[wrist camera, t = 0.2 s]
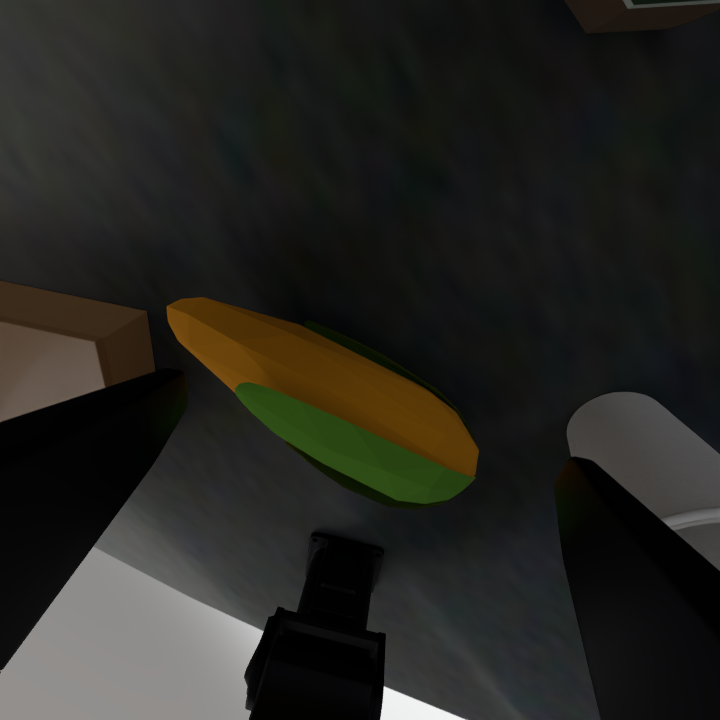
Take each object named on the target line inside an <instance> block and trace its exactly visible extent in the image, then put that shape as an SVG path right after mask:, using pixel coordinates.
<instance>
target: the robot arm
mask: <svg viewBox="0 0 720 720" xmlns="http://www.w3.org/2000/svg"><path fill="white" fill-rule="evenodd" d="M187 404H188V392H187V381H186V375H185V373H184V372H183V371H181V370H176V369H172V368H164V369H161V370H158V371H154V372H151V373H148V374H145V375H142V376H139V377H136V378H133V379H130V380H127V381H124V382H121V383H118V384H115V385H112V386H109V387H106V388H103V389H99V390H96V391H93V392H90V393H87V394H84V395H81V396H78V397H75V398H72V399H69V400H66V401H63V402H60V403H57V404H54V405H51V406H48V407H44V408H41V409H38V410H35V411H32V412H29V413H26V414H23V415H20V416H17V417H14V418H11V419H8V420H5V421H2V422H0V670H2V669H3V668H4V667H5V666H6V664H7V663H8V662H9V660H10V659H11V657H12V656H13V655H14V653H15V652H16V651H17V649H18V648H19V647H20V645H21V644H22V643H23V641H24V640H25V639H26V637H27V636H28V634H29V633H30V632H31V630H32V629H33V628H34V626H35V625H36V623H37V622H38V621H39V619H40V618H41V617H42V615H43V614H44V613H45V611H46V610H47V609H48V607H49V606H50V604H51V603H52V602H53V600H54V599H55V598H56V596H57V595H58V594H59V592H60V591H61V589H62V588H63V587H64V585H65V584H66V583H67V581H68V580H69V579H70V577H71V576H72V574H73V573H74V572H75V570H76V569H77V568H78V566H79V565H80V563H81V562H82V561H83V559H84V558H85V557H86V555H87V554H88V553H89V551H90V550H91V549H92V547H93V546H94V545H95V543H96V542H97V540H98V539H99V538H100V536H101V535H102V534H103V532H104V531H105V530H106V528H107V527H108V525H109V524H110V523H111V521H112V520H113V519H114V517H115V516H116V515H117V513H118V512H119V510H120V509H121V508H122V506H123V505H124V504H125V502H126V501H127V500H128V498H129V497H130V495H131V494H132V493H133V491H134V490H135V489H136V487H137V486H138V485H139V483H140V482H141V480H142V479H143V478H144V476H145V475H146V474H147V472H148V471H149V470H150V468H151V467H152V465H153V464H154V462H155V461H156V459H157V458H158V456H159V454H160V453H161V451H162V449H163V448H164V446H165V444H166V442H167V441H168V439H169V437H170V435H171V434H172V432H173V430H174V429H175V427H176V425H177V423H178V422H179V420H180V418H181V416H182V415H183V413H184V411H185V409H186V407H187ZM554 491H555V500H556V509H557V517H558V525H559V533H560V542H561V549H562V556H563V561H564V565H565V570H566V574H567V578H568V583H569V587H570V591H571V595H572V600H573V604H574V608H575V612H576V617H577V621H578V625H579V629H580V634H581V638H582V642H583V646H584V651H585V655H586V659H587V663H588V667H589V672H590V676H591V680H592V684H593V689H594V693H595V697H596V701H597V706H598V710H599V714H600V718H601V720H720V571H719V570H718V569H717V568H716V567H715V566H714V565H712V564H711V563H710V562H709V561H708V560H707V559H706V558H704V557H703V556H702V555H701V554H700V553H699V552H697V551H696V550H695V549H694V548H693V547H692V546H691V545H689V544H688V543H687V542H686V541H685V540H684V539H683V538H681V537H680V536H679V535H678V534H677V533H676V532H674V531H673V530H672V529H671V528H670V527H669V526H668V525H666V524H665V523H664V522H663V521H662V520H661V519H660V518H658V517H657V516H656V515H655V514H654V513H653V512H652V511H650V510H649V509H648V508H647V507H646V506H645V505H643V504H642V503H641V502H640V501H639V500H638V499H637V498H635V497H634V496H633V495H632V494H631V493H630V492H629V491H627V490H626V489H625V488H624V487H623V486H622V485H620V484H619V483H618V482H617V481H616V480H615V479H614V478H612V477H611V476H610V475H609V474H608V473H607V472H606V471H604V470H603V469H602V468H601V467H600V466H599V465H598V464H596V463H595V462H594V461H592V460H590V459H586V458H581V457H577V456H574V457H571V458H570V459H569V460H568V461H567V463H566V465H565V467H564V468H563V470H562V472H561V473H560V475H559V477H558V479H557V481H556V483H555V490H554ZM383 556H384V550H383V549H382V548H380V547H376V546H371V545H367V544H363V543H359V542H355V541H350V540H346V539H342V538H338V537H334V536H329V535H325V534H321V533H316V532H314V533H312V534H311V537H310V543H309V551H308V559H307V566H306V574H305V575H306V577H307V578H306V581H305V585H304V588H303V592H302V595H301V599H300V602H299V606H298V609H297V613H296V612H292V611H288V610H284V608H282V607H278V608H277V610H276V613H275V615H274V616H270V617H268V620H267V623H266V626H265V629H264V632H263V635H262V638H261V640H260V642H259V644H258V647H257V649H256V650H255V653H254V654H253V656H252V659H251V660H250V663H249V665H248V667H247V669H246V672H245V676H244V678H245V681H246V684H247V686H248V688H247V700H246V707H245V708H246V709H247V710H250V711H251V714H250V717H249V720H380V716H381V709H382V699H383V688H384V665H385V640H386V634H385V633H381V632H379V633H375V632H371V631H368V630H366V627H367V620H368V612H369V605H370V597H371V593H372V592H373V590H374V587H375V583H376V580H377V577H378V573H379V570H380V566H381V563H382V560H383ZM0 673H1V672H0Z"/></svg>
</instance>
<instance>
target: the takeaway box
mask: <svg viewBox="0 0 720 720" xmlns="http://www.w3.org/2000/svg"><path fill="white" fill-rule="evenodd" d="M154 371H156V370H155V364H154V357H153V350H152V343H151V336H150V329H149V322H148V316H147V311H144V310H139V309H134V308H130V307H125V306H120V305H115V304H110V303H105V302H101V301H96V300H91V299H86V298H81V297H77V296H72V295H67V294H62V293H57V292H53V291H48V290H43V289H38V288H33V287H29V286H24V285H19V284H14V283H9V282H5V281H0V422H2V421H5V420H8V419H11V418H14V417H17V416H20V415H23V414H26V413H29V412H32V411H35V410H38V409H41V408H44V407H48V406H51V405H54V404H57V403H60V402H63V401H66V400H69V399H72V398H75V397H78V396H81V395H84V394H87V393H90V392H93V391H96V390H99V389H103V388H106V387H109V386H112V385H115V384H118V383H121V382H124V381H127V380H130V379H133V378H136V377H139V376H142V375H145V374H148V373H151V372H154Z"/></svg>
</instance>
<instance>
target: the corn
mask: <svg viewBox="0 0 720 720" xmlns="http://www.w3.org/2000/svg"><path fill="white" fill-rule="evenodd" d="M167 317H168V323H169V324H170V326H171V328H172V330H173V332H174V334H175V336H176V338H177V340H178V341H179V342H180V343H181V344H182V345H183V346H184V347H185V348H186V349H188V350H189V351H190V352H191V353H192V354H193V355H194V356H195V357H196V358H197V359H198V360H200V361H201V362H202V363H203V364H204V365H205V366H206V367H207V368H208V369H209V370H211V371H212V372H213V373H214V374H215V375H216V376H217V377H218V378H219V379H220V380H221V381H223V382H224V383H225V384H226V385H227V386H228V387H229V388H230V389H231V390H232V391H233V392H235V394H236V395H237V397H238V398H239V400H240V401H241V402H242V403H243V404H244V405H245V406H246V407H247V408H248V410H249V411H250V412H251V413H252V414H254V415H255V416H256V417H257V418H258V419H259V420H260V421H262V422H263V423H264V424H265V425H266V426H267V427H268V428H269V429H271V430H272V431H273V432H274V433H275V434H276V435H278V436H279V437H281V438H283V439H284V440H286V442H285V443H286V444H287V446H289V447H290V448H291V449H292V450H294V451H295V452H296V453H297V454H299V455H300V456H301V457H302V458H304V459H305V460H306V461H307V462H309V463H310V464H311V465H312V466H314V467H315V468H317V469H318V470H320V471H321V472H322V473H324V474H325V475H327V476H328V477H330V478H331V479H332V480H334V481H335V482H337V483H338V484H340V485H341V486H342V487H344V488H346V489H349V490H351V491H353V492H356V493H358V494H360V495H363V496H365V497H367V498H370V499H372V500H374V501H376V502H379V503H381V504H383V505H386V506H388V507H396V508H406V509H420V508H426V507H432V506H438V505H442V504H444V503H445V502H447V501H448V500H450V499H451V498H453V497H454V496H456V495H457V494H459V493H460V492H462V491H463V490H465V488H466V487H467V486H469V485H470V484H471V483H472V482H473V481H474V479H475V478H476V477H474V476H475V473H476V466H477V460H478V454H479V449H478V448H477V446H476V444H475V440H474V434H473V433H472V431H471V429H470V428H469V426H468V424H467V423H466V421H465V419H464V418H463V416H462V415H461V413H460V411H459V410H458V409H457V408H456V407H455V406H454V405H453V404H452V403H451V402H450V401H449V400H448V399H447V398H446V397H445V396H444V395H443V394H442V393H440V392H439V391H438V390H437V389H436V388H434V387H433V386H431V385H430V384H428V383H427V382H425V381H424V380H422V379H420V378H419V377H417V376H416V375H414V374H413V373H411V372H409V371H408V370H406V369H405V368H403V367H402V366H400V365H399V364H397V363H395V362H394V361H392V360H391V359H389V358H388V357H386V356H385V355H383V354H381V353H379V352H377V351H375V350H373V349H371V348H369V347H367V346H365V345H363V344H361V343H359V342H357V341H355V340H353V339H351V338H349V337H347V336H345V335H343V334H341V333H339V332H336V331H334V330H332V329H329V328H327V327H325V326H322V325H320V324H318V323H315V322H312V321H310V320H306V321H304V327H303V326H301V325H299V324H295V323H292V322H288V321H285V320H281V319H278V318H274V317H271V316H267V315H264V314H260V313H257V312H253V311H250V310H246V309H243V308H239V307H236V306H232V305H229V304H225V303H222V302H218V301H215V300H211V299H208V298H204V297H199V298H188V299H180V300H178V301H176V302H174V303H172V304H170V305H168V306H167Z"/></svg>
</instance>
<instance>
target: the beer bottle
mask: <svg viewBox="0 0 720 720" xmlns="http://www.w3.org/2000/svg"><path fill="white" fill-rule="evenodd" d="M564 1H565V2H566V4H567V5H568V7H569V8H570V10H571V11H572V13H573V14H574V16H575V17H576V19H577V20H578V22H579V23H580V25H581V26H582V28H583V29H584V31H585V32H586V34H588V33H606V32H624V31H643V30H661V29H669V28H672V27H675V26H678V25H681V24H685V23H688V22H691V21H694V20H696V19H698V18H701V17H703V16H705V15H707V14H710V13H712V12H714V11H717V10H719V9H720V0H564Z"/></svg>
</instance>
